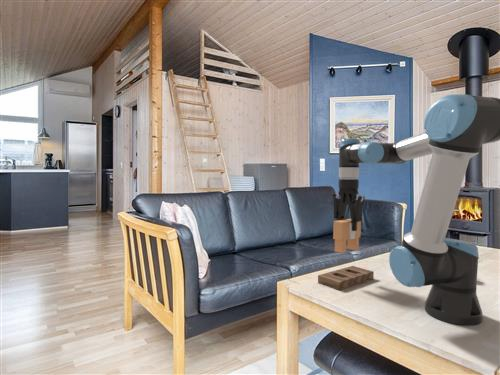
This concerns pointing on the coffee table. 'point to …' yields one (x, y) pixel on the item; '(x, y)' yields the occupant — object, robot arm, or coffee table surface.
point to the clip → (345, 236)
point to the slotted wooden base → (345, 277)
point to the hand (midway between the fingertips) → (347, 237)
